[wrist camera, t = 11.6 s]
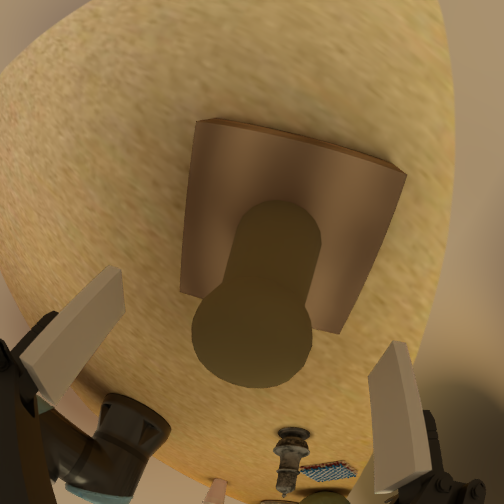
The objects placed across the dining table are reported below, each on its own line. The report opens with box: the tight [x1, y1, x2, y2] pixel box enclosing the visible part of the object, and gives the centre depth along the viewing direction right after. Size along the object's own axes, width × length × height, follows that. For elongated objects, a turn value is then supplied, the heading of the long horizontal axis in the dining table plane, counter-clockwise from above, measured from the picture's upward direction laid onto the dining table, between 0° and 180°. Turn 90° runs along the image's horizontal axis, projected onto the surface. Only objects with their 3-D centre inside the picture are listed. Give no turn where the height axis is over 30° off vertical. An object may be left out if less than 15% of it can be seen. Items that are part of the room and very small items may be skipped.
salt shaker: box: [273, 427, 310, 498], centre depth 35 cm, size 6×6×12 cm
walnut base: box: [180, 118, 407, 334], centre depth 22 cm, size 14×14×4 cm
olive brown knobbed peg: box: [192, 200, 322, 388], centre depth 15 cm, size 6×6×11 cm
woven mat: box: [300, 460, 358, 482], centre depth 47 cm, size 10×11×2 cm
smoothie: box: [202, 479, 227, 504], centre depth 57 cm, size 6×6×14 cm
